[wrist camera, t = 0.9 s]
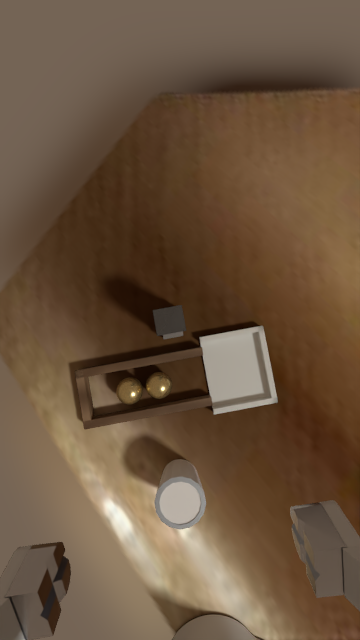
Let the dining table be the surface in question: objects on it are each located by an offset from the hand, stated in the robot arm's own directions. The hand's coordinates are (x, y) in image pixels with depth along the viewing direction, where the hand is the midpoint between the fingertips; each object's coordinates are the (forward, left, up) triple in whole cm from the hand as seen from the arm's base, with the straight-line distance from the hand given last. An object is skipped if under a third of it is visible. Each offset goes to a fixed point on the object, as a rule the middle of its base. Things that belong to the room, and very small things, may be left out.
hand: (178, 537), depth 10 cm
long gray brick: (+9, -1, -36) cm, 37 cm away
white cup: (-15, +2, -36) cm, 39 cm away
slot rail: (0, +5, -36) cm, 36 cm away
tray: (0, -10, -36) cm, 37 cm away
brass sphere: (0, +7, -36) cm, 37 cm away
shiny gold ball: (0, +3, -36) cm, 36 cm away
